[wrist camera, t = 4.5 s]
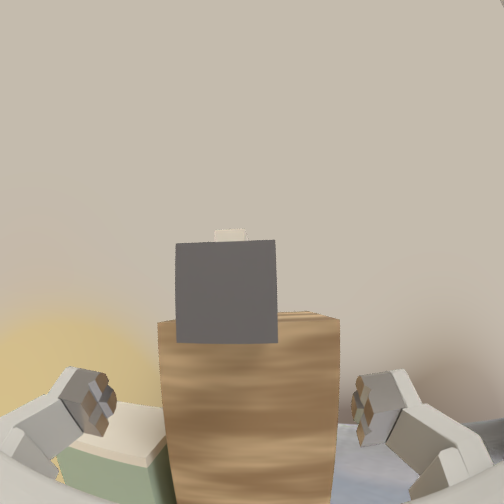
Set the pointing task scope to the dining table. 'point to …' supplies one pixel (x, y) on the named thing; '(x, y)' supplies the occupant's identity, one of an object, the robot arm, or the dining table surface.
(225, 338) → the grey bar with knob
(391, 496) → the dining table surface
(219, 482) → the oak stand
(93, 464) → the block
